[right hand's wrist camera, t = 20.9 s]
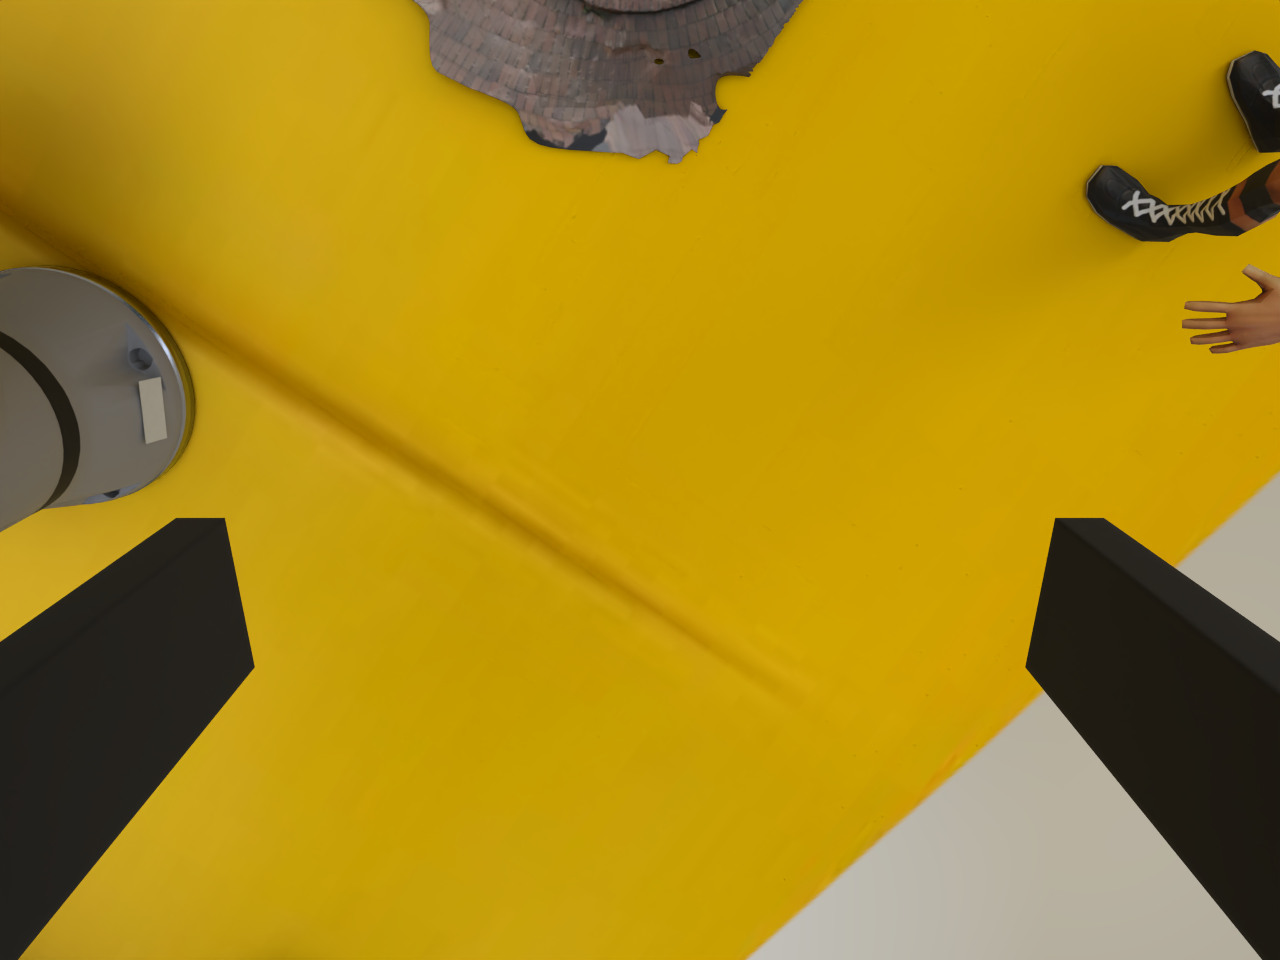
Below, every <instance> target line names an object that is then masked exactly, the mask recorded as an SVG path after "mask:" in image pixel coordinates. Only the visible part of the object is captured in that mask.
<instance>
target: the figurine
mask: <svg viewBox="0 0 1280 960" xmlns="http://www.w3.org/2000/svg"><path fill="white" fill-rule="evenodd" d="M1227 81H1228V85H1229V89H1230V93H1231V96H1232V98H1233V100H1234V102H1235V104H1236V106H1237V108H1238V110H1239V112H1240V113H1241V115H1242V117H1243V119H1244V121H1245V123H1246V126H1247V128H1248V131H1249V133H1250V136H1251V138H1252V140H1253V143H1254V145H1255V147H1256V150H1257V151H1258V152H1261V153H1270V152H1280V68H1279V67H1278V66H1277V65H1276V64H1275V62H1274V61H1273V60H1272V59H1271V58H1270V57H1269V56H1268V55H1267V54H1265V53H1262V52H1259V51H1252V52H1250V53H1248V54H1245V55H1243V56H1241V57H1239V58H1237V59H1235V60H1233V61H1231V64H1230V67H1229V70H1228V74H1227ZM1086 197H1087V199H1088V200H1089V202H1090V204H1091V206H1092V208H1093V210H1094V211H1095V213H1096V214H1098V215H1099V216H1100V217H1101V218H1102V219H1104V220H1105V221H1106V222H1107V223H1109V224H1111V225H1112V226H1114V227H1116V228H1118V229H1120V230H1121V231H1123V232H1125V233H1127V234H1128V235H1130V236H1132V237H1134V238H1135V239H1138V240H1140V241H1154V242H1170V241H1172V240H1174V239H1175V238H1177V237H1180V236H1182V235H1185V234H1187V233H1195V232H1197V233H1203V234H1210V235H1216V236H1239V235H1241V234H1243V233H1245V232H1247V231H1249V230H1251V229H1253V228H1255V227H1257V226H1259V225H1261V224H1263V223H1264V222H1266V221H1268V220H1270V219H1272V218H1274V217H1275V216H1276V215H1277V214H1278V213H1279V212H1280V159H1279V160H1277V161H1275V162H1272V163H1270V164H1268V165H1266V166H1265V167H1263V168H1261V169H1260V170H1258V171H1257V172H1255V173H1253V174H1252V175H1251V176H1249V177H1248V178H1246V179H1245V180H1244V181H1242V182H1241V183H1239V184H1237V185H1235V186H1233V187H1232V188H1230V189H1228V190H1226V191H1224V192H1222V193H1220V194H1218V195H1215V196H1213V197H1211V198H1209V199H1206V200H1203V201H1200V202H1197V203H1194V204H1191V205H1167V204H1165V203H1164V202H1163V201H1161V200H1160V199H1159V198H1157V197H1155V196H1152V195H1150V194H1149V193H1148V192H1147V191H1146V190H1145V189H1144V187H1143V186H1142V185H1141V184H1140V183H1139V181H1138V180H1136V179H1135V178H1134V177H1132V176H1131V175H1129V174H1128V173H1126V172H1125V171H1123V170H1122V169H1121V168H1119V167H1118V166H1104V165H1103V166H1100V167H1099V168H1098V169H1097V170H1096V172H1095V173H1094V174H1093V175H1092V177H1091V178H1090V179H1089V181H1088V182H1087V195H1086ZM1242 272H1243V273H1244V274H1245V275H1246V276H1247V277H1249V278H1250V279H1251V280H1253V281H1255V282H1256V283H1257V284H1258V285H1259V286H1260V287H1261V289H1262V293H1261V294H1260V295H1258V296H1257V297H1256V298H1255V299H1251V300H1247V301H1242V302H1236V303H1226V302H1212V301H1188V302H1185V308H1184V309H1188V310H1192V311H1201V312H1220V313H1226V317H1222V318H1205V319H1185V320H1182V328H1187V329H1224V328H1225V329H1228V330H1226V331H1221V332H1217V333H1209V334H1202V335H1196V336H1193V337H1191V338H1190V341H1191V344H1199V345H1200V344H1212V343H1220V342H1226V341H1233V342H1234V343H1230V344H1224V345H1217V346H1212V347H1211V348H1209V350H1210V351H1211V353H1228V352H1233V351H1237V350H1241V349H1246V348H1252V347H1258V346H1264V345H1271V344H1275V343H1279V342H1280V278H1279V277H1276V276H1273V275H1271V274H1268V273H1266V272H1264V271H1262V270H1260V269H1258V268H1256V267H1254V266H1252V265H1250V264H1249V265H1248V266H1247V267H1246V268H1245V269H1244V270H1243V271H1242Z"/></svg>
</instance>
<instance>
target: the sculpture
mask: <svg viewBox="0 0 1280 960" xmlns="http://www.w3.org/2000/svg"><path fill="white" fill-rule="evenodd" d="M413 1H415V2H416V3H417V4H418V5H420V6H421V7H422V8H423V10H424V11H425V12H426V14H427V16H428V18H429V21H430V56H431V61H432V65H433V67H434V68H435V70H436V71H437V72H439V73H441V74H443V75H445V76H447V77H449V78H451V79H453V80H455V81H457V82H459V83H461V84H463V85H465V86H467V87H469V88H472V89H474V90H477V91H480V92H482V93H485V94H487V95H490V96H492V97H495V98H497V99H499V100H501V101H504V102H506V103H508V104H509V105H511V106H512V107H514V108H515V109H516V110H517V112H518V113H519V116H520V118H521V121H522V124H523V127H524V130H525V132H526V134H527V135H528V137H529V138H530V139H531V140H533V141H534V142H536V143H538V144H540V145H544V146H548V147H553V148H561V149H569V150H584V151H600V152H618V153H625V154H627V155H630V156H633V157H635V158H638V159H639V158H641V157H643V156H645V155H647V154H648V153H650V152H652V151H654V150H658V151H660V152H663V153H665V154H667V155H669V156H670V157H669V162H668V163H679V162H681V161H682V157H683V156H684V155H685V154H686V153H688V152H689V151H690V150H691V149H693V150H694V151H695V152H696V153H697V147H698V145H699V141H698V140H699V139H701V138H703V137H705V136H708V134H709V132H710V130H711V128H712V126H713V125H714V124H716V123H718V122H720V120H721V118H722V116H723V115H724V113H725V112H726V111H727V110H722V109H720V108H719V107H718V105H717V102H716V98H715V86H716V83H717V80H718V79H719V78H720V77H722V76H726V75H739V76H747V77H749V76H750V75H751V74H750V73H749V72H750V71H753V69H752V68H753V67H754V66H755V65H756V64H757V63H759V62H760V61H761V60H762V59H763V57H764V56H765V54H766V53H767V51H768V48H769V47H771V46H772V44H773V43H774V40H775V38H776V36H777V35H778V34H779V33H780V32H781V30H782V29H783V28H784V27H783V25H784V24H785V23H787V22H789V18H791V17H792V15H793V14H794V12H795V11H796V10H795V8H797V7H799V6H798V5H799V4H800V3H801V2H802V1H803V0H413ZM689 49H694V50H695V51H697V52H698V53H699V54H700V56H701V57H700V58H690V57H689V55H688V51H689ZM657 58H660V59H662V60H663V61H664V63H663V64H661V65H657V64H655V62H654V60H655V59H657Z"/></svg>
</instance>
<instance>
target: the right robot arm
mask: <svg viewBox="0 0 1280 960" xmlns="http://www.w3.org/2000/svg"><path fill="white" fill-rule="evenodd" d="M194 414H195V401H194V392H193V387H192V382H191V378H190V375H189V371H188V368H187V366H186V363H185V361H184V358H183V356H182V354H181V352H180V350H179V348H178V347H177V345H176V343H175V342H174V340H173V338H172V337H171V335H170V334H169V333H168V331H167V330H166V329H165V327H164V326H163V325H162V324H161V322H160V321H159V320H158V319H157V318H156V317H155V316H154V315H153V314H152V313H151V312H150V311H149V310H148V309H147V308H146V307H145V306H144V305H143V304H142V303H140V302H139V301H138V300H137V299H136V298H134V297H133V296H132V295H130V294H129V293H127V292H126V291H124V290H123V289H121V288H119V287H118V286H116V285H114V284H113V283H111V282H109V281H107V280H105V279H102V278H100V277H98V276H95V275H93V274H90V273H87V272H84V271H80V270H77V269H72V268H67V267H60V266H31V267H22V268H14V269H8V270H4V271H0V532H1V531H3V530H5V529H7V528H8V527H10V526H12V525H14V524H16V523H18V522H19V521H21V520H23V519H25V518H27V517H28V516H30V515H32V514H34V513H36V512H38V511H40V510H41V509H47V508H57V507H66V506H75V505H81V504H93V503H100V502H106V501H110V500H114V499H117V498H120V497H123V496H127V495H129V494H132V493H134V492H136V491H138V490H140V489H142V488H144V487H145V486H147V485H149V484H150V483H152V482H154V481H155V480H157V479H159V478H160V477H161V476H163V475H164V474H165V473H166V472H168V471H169V470H170V469H171V468H172V467H173V466H174V464H175V463H176V462H177V461H178V460H179V458H180V456H181V455H182V453H183V452H184V450H185V448H186V446H187V444H188V441H189V438H190V435H191V432H192V428H193V423H194ZM254 667H255V666H254V662H253V657H252V652H251V647H250V642H249V637H248V632H247V627H246V622H245V617H244V612H243V607H242V602H241V597H240V592H239V587H238V582H237V577H236V572H235V567H234V562H233V557H232V552H231V547H230V542H229V537H228V532H227V527H226V522H225V518H176V519H174V520H173V521H171V522H170V523H169V524H167V525H166V526H164V527H163V528H161V529H160V530H159V531H157V532H156V533H154V534H153V535H151V536H150V537H149V538H147V539H146V540H144V541H143V542H142V543H140V544H139V545H137V546H136V547H134V548H133V549H132V550H130V551H129V552H127V553H126V554H125V555H123V556H122V557H120V558H119V559H117V560H116V561H115V562H113V563H112V564H110V565H109V566H107V567H106V568H105V569H103V570H102V571H100V572H99V573H98V574H96V575H95V576H93V577H92V578H90V579H89V580H88V581H86V582H85V583H83V584H82V585H80V586H79V587H78V588H76V589H75V590H73V591H72V592H71V593H69V594H68V595H66V596H65V597H63V598H62V599H61V600H59V601H58V602H56V603H55V604H54V605H52V606H51V607H49V608H48V609H46V610H45V611H44V612H42V613H41V614H39V615H38V616H36V617H35V618H34V619H32V620H31V621H29V622H28V623H27V624H25V625H24V626H22V627H21V628H19V629H18V630H17V631H15V632H14V633H12V634H11V635H9V636H8V637H7V638H5V639H4V640H2V641H1V642H0V960H18V959H19V957H20V956H21V955H22V954H23V952H24V951H25V950H26V949H27V948H28V946H29V945H30V944H31V943H32V941H33V940H34V939H35V938H36V936H37V935H38V934H39V933H40V932H41V930H42V929H43V928H44V927H45V925H46V924H47V923H48V922H49V920H50V919H51V918H52V917H53V915H54V914H55V913H56V912H57V911H58V909H59V908H60V907H61V906H62V904H63V903H64V902H65V901H66V899H67V898H68V897H69V896H70V894H71V893H72V892H73V891H74V890H75V888H76V887H77V886H78V885H79V883H80V882H81V881H82V880H83V878H84V877H85V876H86V875H87V873H88V872H89V871H90V870H91V869H92V867H93V866H94V865H95V864H96V862H97V861H98V860H99V859H100V857H101V856H102V855H103V854H104V852H105V851H106V850H107V849H108V848H109V846H110V845H111V844H112V843H113V841H114V840H115V839H116V838H117V836H118V835H119V834H120V833H121V832H122V830H123V829H124V828H125V827H126V825H127V824H128V823H129V822H130V820H131V819H132V818H133V817H134V815H135V814H136V813H137V812H138V811H139V809H140V808H141V807H142V806H143V804H144V803H145V802H146V801H147V799H148V798H149V797H150V796H151V794H152V793H153V792H154V791H155V790H156V788H157V787H158V786H159V785H160V783H161V782H162V781H163V780H164V778H165V777H166V776H167V775H168V773H169V772H170V771H171V770H172V769H173V767H174V766H175V765H176V764H177V762H178V761H179V760H180V759H181V757H182V756H183V755H184V754H185V753H186V751H187V750H188V749H189V748H190V746H191V745H192V744H193V743H194V741H195V740H196V739H197V738H198V736H199V735H200V734H201V733H202V732H203V730H204V729H205V728H206V727H207V725H208V724H209V723H210V722H211V720H212V719H213V718H214V717H215V715H216V714H217V713H218V712H219V711H220V709H221V708H222V707H223V706H224V704H225V703H226V702H227V701H228V699H229V698H230V697H231V696H232V694H233V693H234V692H235V691H236V690H237V688H238V687H239V686H240V685H241V683H242V682H243V681H244V680H245V678H246V677H247V676H248V675H249V673H250V672H251V671H252V670H253V669H254ZM1025 667H1026V669H1027V670H1028V671H1029V672H1030V674H1031V675H1032V676H1033V677H1034V678H1035V680H1036V681H1037V682H1038V683H1039V685H1040V686H1041V687H1042V688H1043V690H1044V691H1045V692H1046V693H1047V694H1048V696H1049V697H1050V698H1051V699H1052V701H1053V702H1054V703H1055V704H1056V706H1057V707H1058V708H1059V709H1060V711H1061V712H1062V713H1063V714H1064V715H1065V717H1066V718H1067V719H1068V720H1069V722H1070V723H1071V724H1072V725H1073V727H1074V728H1075V729H1076V730H1077V732H1078V733H1079V734H1080V735H1081V736H1082V738H1083V739H1084V740H1085V741H1086V743H1087V744H1088V745H1089V746H1090V748H1091V749H1092V750H1093V751H1094V752H1095V754H1096V755H1097V756H1098V757H1099V759H1100V760H1101V761H1102V762H1103V764H1104V765H1105V766H1106V767H1107V769H1108V770H1109V771H1110V772H1111V773H1112V775H1113V776H1114V777H1115V778H1116V780H1117V781H1118V782H1119V783H1120V785H1121V786H1122V787H1123V788H1124V789H1125V791H1126V792H1127V793H1128V794H1129V796H1130V797H1131V798H1132V799H1133V801H1134V802H1135V803H1136V804H1137V806H1138V807H1139V808H1140V809H1141V811H1142V812H1143V813H1144V814H1145V815H1146V817H1147V818H1148V819H1149V820H1150V822H1151V823H1152V824H1153V825H1154V826H1155V828H1156V829H1157V830H1158V832H1159V833H1160V834H1161V835H1162V836H1163V838H1164V839H1165V840H1166V841H1167V843H1168V844H1169V845H1170V846H1171V848H1172V849H1173V850H1174V851H1175V852H1176V854H1177V855H1178V856H1179V857H1180V859H1181V860H1182V861H1183V862H1184V864H1185V865H1186V866H1187V867H1188V868H1189V870H1190V871H1191V872H1192V873H1193V875H1194V876H1195V877H1196V878H1197V880H1198V881H1199V882H1200V883H1201V884H1202V886H1203V887H1204V888H1205V890H1206V891H1207V892H1208V893H1209V894H1210V896H1211V897H1212V898H1213V899H1214V901H1215V902H1216V903H1217V904H1218V906H1219V907H1220V908H1221V909H1222V910H1223V912H1224V913H1225V914H1226V915H1227V917H1228V918H1229V919H1230V920H1231V922H1232V923H1233V924H1234V925H1235V927H1236V928H1237V929H1238V930H1239V931H1240V933H1241V934H1242V935H1243V936H1244V938H1245V939H1246V940H1247V941H1248V943H1249V944H1250V945H1251V946H1252V948H1253V949H1254V950H1255V951H1256V952H1257V954H1258V955H1259V956H1260V957H1261V959H1262V960H1280V642H1279V641H1278V640H1276V639H1275V638H1273V637H1272V636H1270V635H1269V634H1268V633H1266V632H1265V631H1263V630H1262V629H1260V628H1259V627H1258V626H1256V625H1255V624H1253V623H1252V622H1251V621H1249V620H1248V619H1246V618H1245V617H1244V616H1242V615H1241V614H1239V613H1238V612H1236V611H1235V610H1234V609H1232V608H1231V607H1229V606H1228V605H1226V604H1225V603H1224V602H1222V601H1221V600H1219V599H1218V598H1216V597H1215V596H1214V595H1212V594H1211V593H1209V592H1208V591H1207V590H1205V589H1204V588H1202V587H1201V586H1200V585H1198V584H1197V583H1195V582H1194V581H1192V580H1191V579H1190V578H1188V577H1187V576H1185V575H1184V574H1182V573H1181V572H1180V571H1178V570H1177V569H1175V568H1174V567H1173V566H1171V565H1170V564H1168V563H1167V562H1165V561H1164V560H1163V559H1161V558H1160V557H1158V556H1157V555H1155V554H1154V553H1153V552H1151V551H1150V550H1148V549H1147V548H1146V547H1144V546H1143V545H1141V544H1140V543H1138V542H1137V541H1136V540H1134V539H1133V538H1131V537H1130V536H1129V535H1127V534H1126V533H1124V532H1123V531H1121V530H1120V529H1119V528H1117V527H1116V526H1114V525H1113V524H1111V523H1110V522H1109V521H1107V520H1106V519H1104V518H1055V522H1054V527H1053V532H1052V537H1051V542H1050V547H1049V552H1048V557H1047V562H1046V567H1045V572H1044V577H1043V582H1042V587H1041V592H1040V597H1039V602H1038V607H1037V612H1036V617H1035V622H1034V627H1033V632H1032V637H1031V642H1030V647H1029V652H1028V657H1027V662H1026V666H1025Z"/></svg>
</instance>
